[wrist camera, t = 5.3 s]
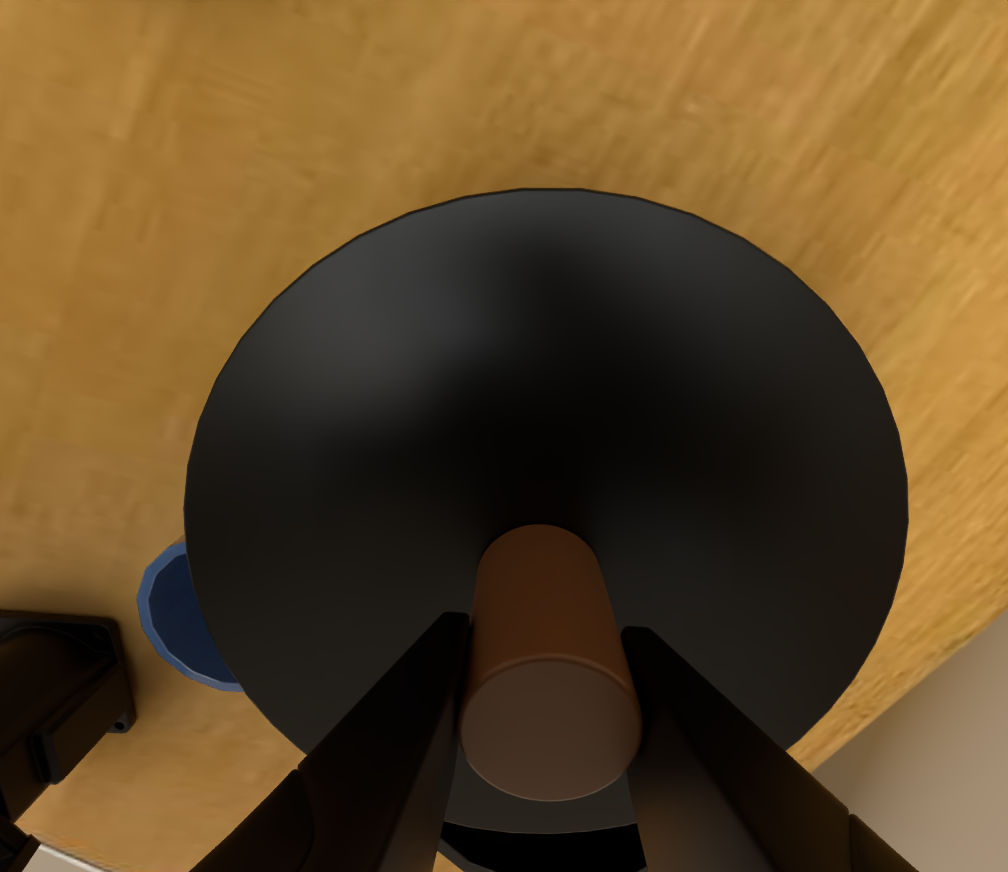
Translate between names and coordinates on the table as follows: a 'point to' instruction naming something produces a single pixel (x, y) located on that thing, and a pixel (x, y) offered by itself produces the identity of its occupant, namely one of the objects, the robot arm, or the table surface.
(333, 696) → the lid
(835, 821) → the robot arm
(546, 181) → the table surface
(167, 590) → the cup
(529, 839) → the pot
